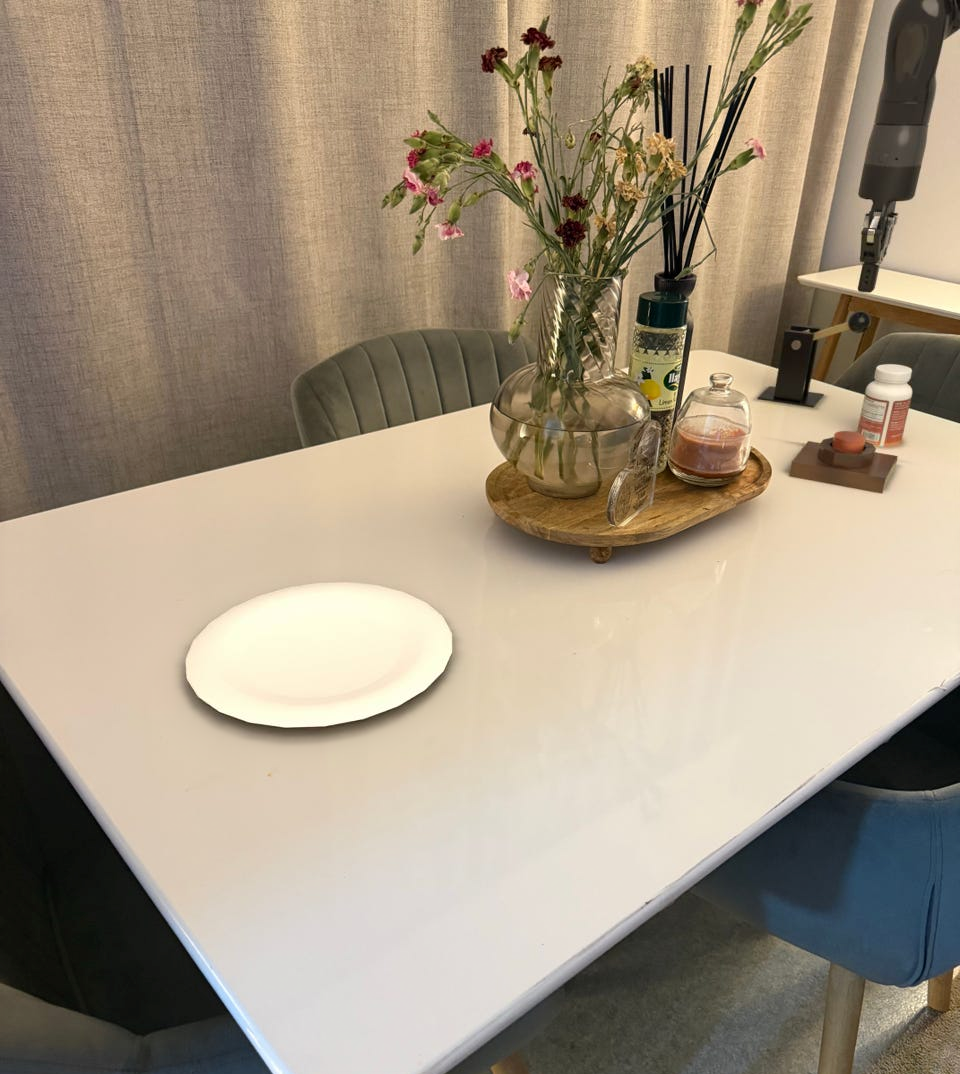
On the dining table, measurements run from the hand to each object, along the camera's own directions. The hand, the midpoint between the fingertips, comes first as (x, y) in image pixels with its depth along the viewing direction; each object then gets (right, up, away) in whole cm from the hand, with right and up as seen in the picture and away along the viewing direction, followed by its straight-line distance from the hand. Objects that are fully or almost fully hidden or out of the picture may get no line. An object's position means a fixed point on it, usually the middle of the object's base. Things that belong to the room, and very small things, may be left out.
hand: (865, 291), depth 137 cm
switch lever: (-3, -6, +6) cm, 8 cm away
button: (-8, -27, -14) cm, 31 cm away
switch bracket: (-7, -13, +13) cm, 20 cm away
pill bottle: (0, -24, -3) cm, 24 cm away
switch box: (-8, -30, -12) cm, 33 cm away
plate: (-73, -54, -49) cm, 103 cm away
